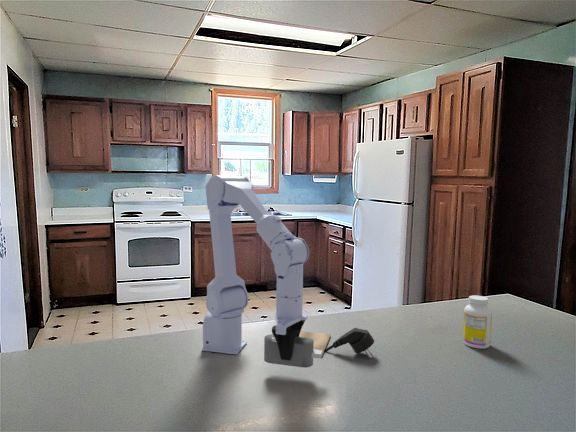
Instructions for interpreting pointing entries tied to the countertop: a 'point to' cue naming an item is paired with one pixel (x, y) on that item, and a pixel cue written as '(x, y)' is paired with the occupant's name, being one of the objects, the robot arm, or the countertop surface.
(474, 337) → the supplement bottle
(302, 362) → the grey capsule with tab
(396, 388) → the countertop surface
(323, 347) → the oak board
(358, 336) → the power plug
